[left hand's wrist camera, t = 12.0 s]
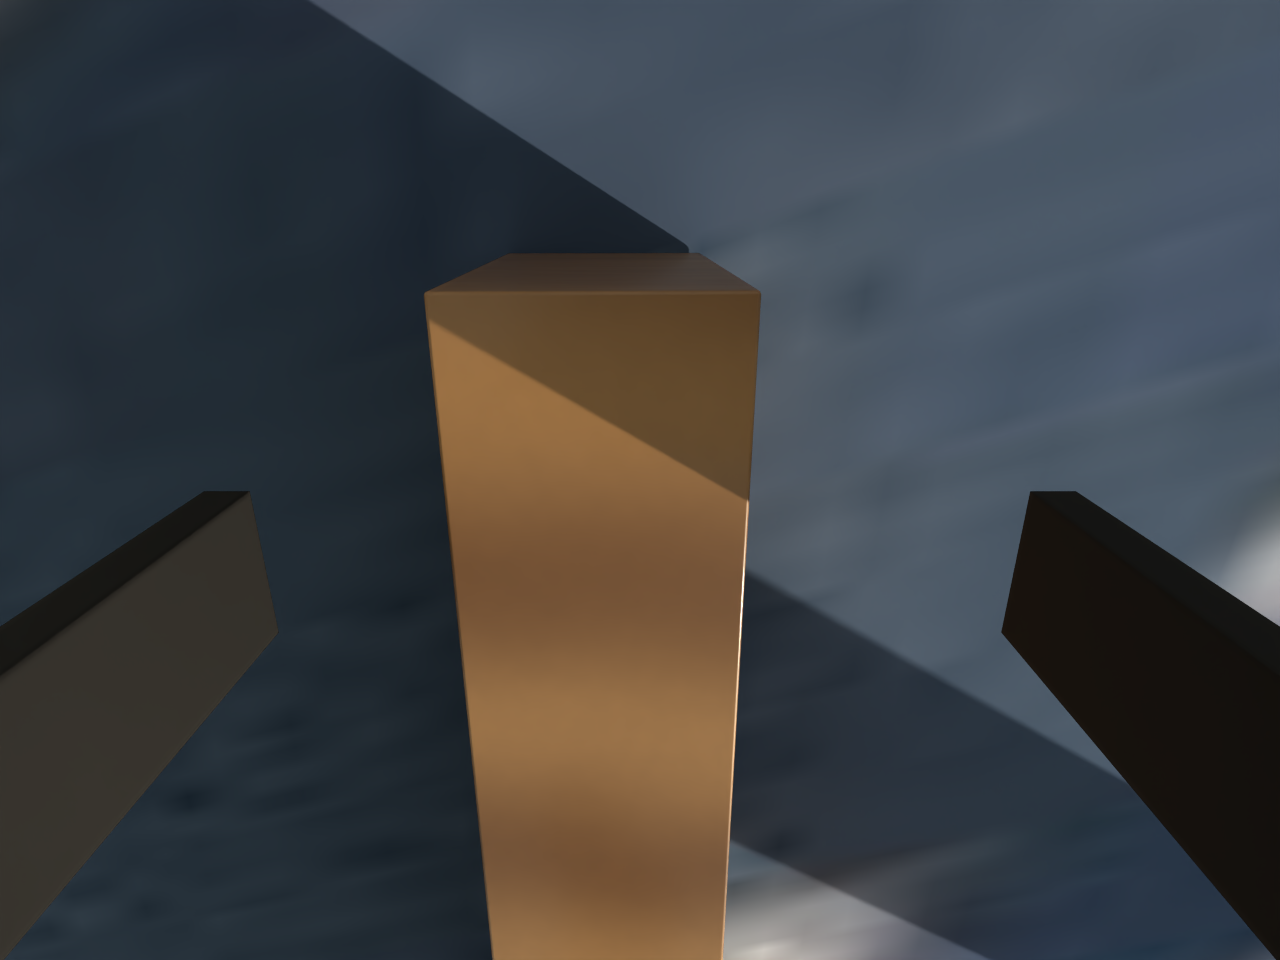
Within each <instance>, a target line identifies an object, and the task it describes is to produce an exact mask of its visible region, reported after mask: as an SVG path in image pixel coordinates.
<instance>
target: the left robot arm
mask: <svg viewBox="0 0 1280 960" xmlns="http://www.w3.org/2000/svg"><path fill="white" fill-rule="evenodd" d="M278 633H279V632H278V627H277V622H276V617H275V612H274V607H273V603H272V598H271V593H270V588H269V583H268V578H267V573H266V568H265V564H264V559H263V554H262V549H261V544H260V539H259V534H258V530H257V525H256V520H255V515H254V510H253V505H252V500H251V496H250V491H204V492H202V493H201V494H199V495H198V496H196V497H195V498H193V499H192V500H190V501H189V502H187V503H186V504H184V505H183V506H181V507H180V508H178V509H177V510H175V511H174V512H172V513H171V514H169V515H168V516H166V517H165V518H163V519H162V520H160V521H159V522H157V523H156V524H154V525H153V526H151V527H150V528H148V529H147V530H145V531H144V532H142V533H141V534H139V535H138V536H136V537H135V538H133V539H132V540H130V541H129V542H127V543H126V544H124V545H123V546H121V547H120V548H118V549H117V550H115V551H113V552H112V553H110V554H109V555H107V556H106V557H104V558H103V559H101V560H100V561H98V562H97V563H95V564H94V565H92V566H91V567H89V568H88V569H86V570H85V571H83V572H82V573H80V574H79V575H77V576H76V577H74V578H73V579H71V580H70V581H68V582H67V583H65V584H64V585H62V586H61V587H59V588H58V589H56V590H55V591H53V592H52V593H50V594H49V595H47V596H46V597H44V598H43V599H41V600H40V601H38V602H37V603H35V604H34V605H32V606H31V607H29V608H28V609H26V610H25V611H23V612H22V613H20V614H19V615H17V616H16V617H14V618H13V619H11V620H10V621H8V622H7V623H5V624H4V625H2V626H0V960H4V959H5V958H6V956H7V955H8V954H9V953H10V952H11V951H12V949H13V948H14V947H15V946H16V945H17V943H18V942H19V941H20V940H21V939H22V937H23V936H24V935H25V934H26V933H27V931H28V930H29V929H30V928H31V927H32V926H33V924H34V923H35V922H36V921H37V920H38V918H39V917H40V916H41V915H42V914H43V912H44V911H45V910H46V909H47V908H48V906H49V905H50V904H51V903H52V902H53V901H54V899H55V898H56V897H57V896H58V895H59V893H60V892H61V891H62V890H63V889H64V887H65V886H66V885H67V884H68V883H69V881H70V880H71V879H72V878H73V877H74V876H75V874H76V873H77V872H78V871H79V870H80V868H81V867H82V866H83V865H84V864H85V862H86V861H87V860H88V859H89V858H90V856H91V855H92V854H93V853H94V852H95V851H96V849H97V848H98V847H99V846H100V845H101V843H102V842H103V841H104V840H105V839H106V837H107V836H108V835H109V834H110V833H111V831H112V830H113V829H114V828H115V827H116V825H117V824H118V823H119V822H120V821H121V820H122V818H123V817H124V816H125V815H126V814H127V812H128V811H129V810H130V809H131V808H132V806H133V805H134V804H135V803H136V802H137V800H138V799H139V798H140V797H141V796H142V795H143V793H144V792H145V791H146V790H147V789H148V787H149V786H150V785H151V784H152V783H153V781H154V780H155V779H156V778H157V777H158V775H159V774H160V773H161V772H162V771H163V770H164V768H165V767H166V766H167V765H168V764H169V762H170V761H171V760H172V759H173V758H174V756H175V755H176V754H177V753H178V752H179V750H180V749H181V748H182V747H183V746H184V745H185V743H186V742H187V741H188V740H189V739H190V737H191V736H192V735H193V734H194V733H195V731H196V730H197V729H198V728H199V727H200V725H201V724H202V723H203V722H204V721H205V719H206V718H207V717H208V716H209V715H210V714H211V712H212V711H213V710H214V709H215V708H216V706H217V705H218V704H219V703H220V702H221V700H222V699H223V698H224V697H225V696H226V694H227V693H228V692H229V691H230V690H231V689H232V687H233V686H234V685H235V684H236V683H237V681H238V680H239V679H240V678H241V677H242V675H243V674H244V673H245V672H246V671H247V669H248V668H249V667H250V666H251V665H252V664H253V662H254V661H255V660H256V659H257V658H258V656H259V655H260V654H261V653H262V652H263V650H264V649H265V648H266V647H267V646H268V644H269V643H270V642H271V641H272V640H273V639H274V637H275V636H276V635H277V634H278ZM1001 633H1002V634H1003V635H1004V636H1005V637H1006V639H1007V640H1008V641H1009V642H1010V643H1011V644H1012V646H1013V647H1014V648H1015V649H1016V650H1017V652H1018V653H1019V654H1020V655H1021V656H1022V658H1023V659H1024V660H1025V661H1026V662H1027V664H1028V665H1029V666H1030V667H1031V668H1032V669H1033V671H1034V672H1035V673H1036V674H1037V675H1038V677H1039V678H1040V679H1041V680H1042V681H1043V683H1044V684H1045V685H1046V686H1047V687H1048V689H1049V690H1050V691H1051V692H1052V693H1053V694H1054V696H1055V697H1056V698H1057V699H1058V700H1059V702H1060V703H1061V704H1062V705H1063V706H1064V708H1065V709H1066V710H1067V711H1068V712H1069V714H1070V715H1071V716H1072V717H1073V718H1074V719H1075V721H1076V722H1077V723H1078V724H1079V725H1080V727H1081V728H1082V729H1083V730H1084V731H1085V733H1086V734H1087V735H1088V736H1089V737H1090V739H1091V740H1092V741H1093V742H1094V743H1095V745H1096V746H1097V747H1098V748H1099V749H1100V750H1101V752H1102V753H1103V754H1104V755H1105V756H1106V758H1107V759H1108V760H1109V761H1110V762H1111V764H1112V765H1113V766H1114V767H1115V768H1116V770H1117V771H1118V772H1119V773H1120V774H1121V775H1122V777H1123V778H1124V779H1125V780H1126V781H1127V783H1128V784H1129V785H1130V786H1131V787H1132V789H1133V790H1134V791H1135V792H1136V793H1137V795H1138V796H1139V797H1140V798H1141V799H1142V800H1143V802H1144V803H1145V804H1146V805H1147V806H1148V808H1149V809H1150V810H1151V811H1152V812H1153V814H1154V815H1155V816H1156V817H1157V818H1158V820H1159V821H1160V822H1161V823H1162V824H1163V825H1164V827H1165V828H1166V829H1167V830H1168V831H1169V833H1170V834H1171V835H1172V836H1173V837H1174V839H1175V840H1176V841H1177V842H1178V843H1179V845H1180V846H1181V847H1182V848H1183V849H1184V851H1185V852H1186V853H1187V854H1188V855H1189V856H1190V858H1191V859H1192V860H1193V861H1194V862H1195V864H1196V865H1197V866H1198V867H1199V868H1200V870H1201V871H1202V872H1203V873H1204V874H1205V876H1206V877H1207V878H1208V879H1209V880H1210V881H1211V883H1212V884H1213V885H1214V886H1215V887H1216V889H1217V890H1218V891H1219V892H1220V893H1221V895H1222V896H1223V897H1224V898H1225V899H1226V901H1227V902H1228V903H1229V904H1230V905H1231V906H1232V908H1233V909H1234V910H1235V911H1236V912H1237V914H1238V915H1239V916H1240V917H1241V918H1242V920H1243V921H1244V922H1245V923H1246V924H1247V926H1248V927H1249V928H1250V929H1251V930H1252V931H1253V933H1254V934H1255V935H1256V936H1257V937H1258V939H1259V940H1260V941H1261V942H1262V943H1263V945H1264V946H1265V947H1266V948H1267V949H1268V951H1269V952H1270V953H1271V954H1272V955H1273V956H1274V958H1275V959H1276V960H1280V626H1278V625H1276V624H1275V623H1273V622H1272V621H1270V620H1269V619H1267V618H1266V617H1264V616H1263V615H1261V614H1260V613H1258V612H1257V611H1255V610H1254V609H1252V608H1251V607H1249V606H1248V605H1246V604H1245V603H1243V602H1242V601H1240V600H1239V599H1237V598H1236V597H1234V596H1233V595H1231V594H1230V593H1228V592H1227V591H1225V590H1224V589H1222V588H1221V587H1219V586H1218V585H1216V584H1215V583H1213V582H1212V581H1210V580H1209V579H1207V578H1206V577H1204V576H1203V575H1201V574H1200V573H1198V572H1197V571H1195V570H1194V569H1192V568H1191V567H1189V566H1188V565H1186V564H1185V563H1183V562H1182V561H1180V560H1179V559H1177V558H1176V557H1174V556H1173V555H1171V554H1170V553H1168V552H1167V551H1165V550H1164V549H1162V548H1160V547H1159V546H1157V545H1156V544H1154V543H1153V542H1151V541H1150V540H1148V539H1147V538H1145V537H1144V536H1142V535H1141V534H1139V533H1138V532H1136V531H1135V530H1133V529H1132V528H1130V527H1129V526H1127V525H1126V524H1124V523H1123V522H1121V521H1120V520H1118V519H1117V518H1115V517H1114V516H1112V515H1111V514H1109V513H1108V512H1106V511H1105V510H1103V509H1102V508H1100V507H1099V506H1097V505H1096V504H1094V503H1093V502H1091V501H1090V500H1088V499H1087V498H1085V497H1084V496H1082V495H1081V494H1079V493H1078V492H1076V491H1030V496H1029V500H1028V505H1027V510H1026V515H1025V520H1024V525H1023V530H1022V534H1021V539H1020V544H1019V549H1018V554H1017V559H1016V564H1015V568H1014V573H1013V578H1012V583H1011V588H1010V593H1009V598H1008V603H1007V607H1006V612H1005V617H1004V622H1003V627H1002V632H1001Z"/></svg>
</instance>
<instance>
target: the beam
mask: <svg viewBox="0 0 1280 960" xmlns="http://www.w3.org/2000/svg"><path fill="white" fill-rule="evenodd" d="M424 301H425V311H426V320H427V330H428V340H429V349H430V359H431V369H432V379H433V388H434V398H435V408H436V417H437V427H438V437H439V447H440V456H441V466H442V476H443V485H444V495H445V505H446V514H447V524H448V534H449V544H450V553H451V563H452V573H453V582H454V592H455V602H456V611H457V621H458V631H459V641H460V650H461V660H462V670H463V679H464V689H465V699H466V708H467V718H468V728H469V738H470V747H471V757H472V767H473V776H474V786H475V796H476V805H477V815H478V825H479V835H480V844H481V854H482V864H483V873H484V883H485V893H486V902H487V912H488V922H489V932H490V941H491V951H492V960H723V946H724V928H725V911H726V894H727V876H728V859H729V842H730V824H731V807H732V790H733V772H734V755H735V738H736V720H737V703H738V686H739V668H740V651H741V634H742V617H743V599H744V582H745V565H746V547H747V530H748V513H749V495H750V478H751V461H752V443H753V426H754V409H755V391H756V374H757V357H758V339H759V322H760V305H761V293H760V291H759V290H757V289H756V288H754V287H752V286H751V285H749V284H748V283H746V282H744V281H743V280H741V279H740V278H738V277H736V276H735V275H733V274H732V273H730V272H729V271H727V270H725V269H724V268H722V267H721V266H719V265H717V264H716V263H714V262H713V261H711V260H709V259H708V258H706V257H705V256H703V255H701V254H700V253H509V254H506V255H504V256H502V257H500V258H498V259H496V260H494V261H491V262H489V263H487V264H485V265H483V266H481V267H478V268H476V269H474V270H472V271H470V272H468V273H466V274H463V275H461V276H459V277H457V278H455V279H453V280H450V281H448V282H446V283H444V284H442V285H440V286H438V287H435V288H433V289H431V290H429V291H427V292H425V294H424Z"/></svg>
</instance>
